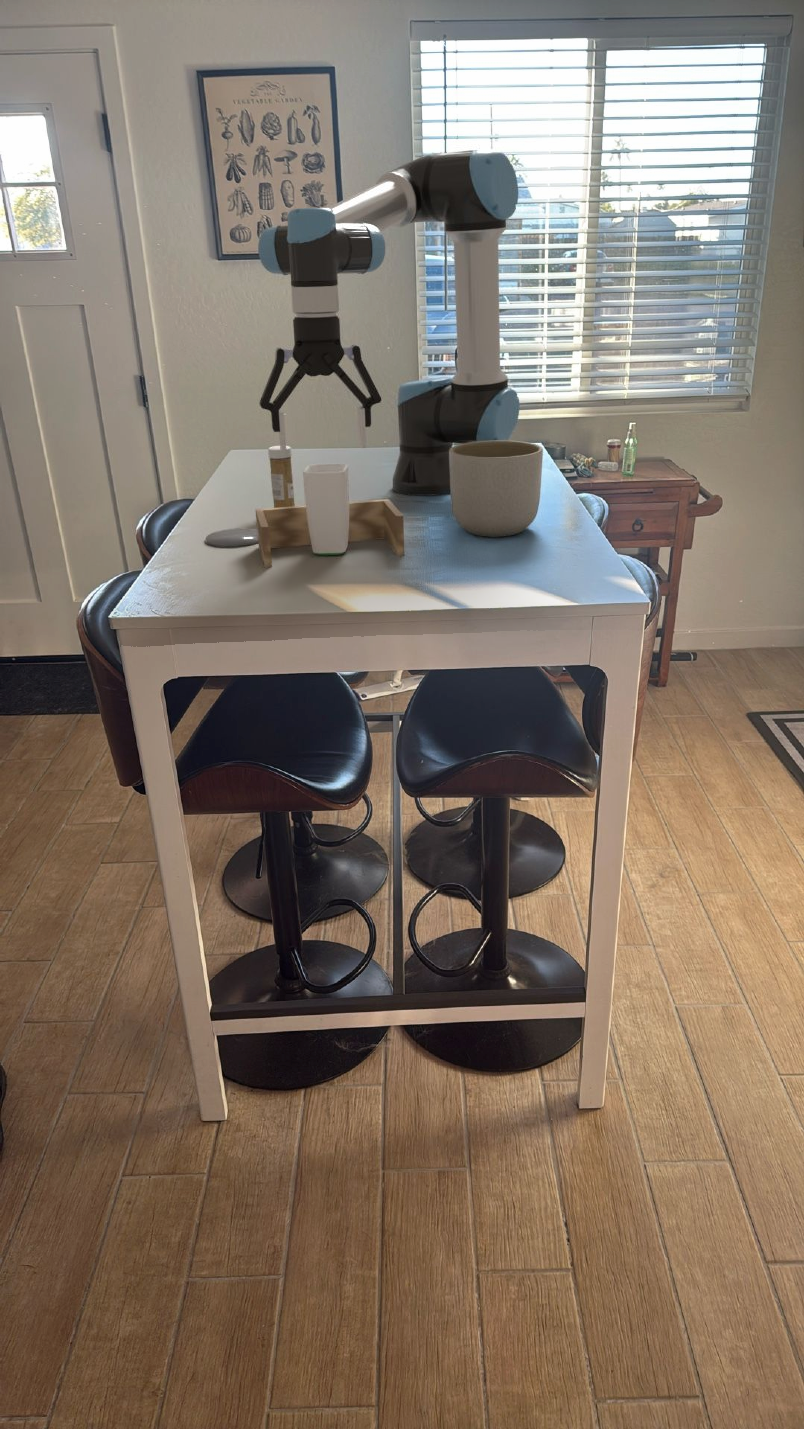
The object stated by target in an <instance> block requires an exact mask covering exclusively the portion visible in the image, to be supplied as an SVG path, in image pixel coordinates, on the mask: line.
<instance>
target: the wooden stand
mask: <svg viewBox="0 0 804 1429" xmlns="http://www.w3.org/2000/svg"><path fill="white" fill-rule="evenodd" d="M255 520H256V530H257V532H258V543H257V544H258V549H259V552H260V556H261V559H262V562H263V566H264V568H272V567H273V564H272V562H273V561H272V553H271V552H272V551H271V550H272V549H278V548H288V547H302V546H312V544H311V539H310V533H309V527H308V521H307V513H306V505H295V506H293V507H280V508H274V507H269V508H258V509H256V508H255ZM383 539H384V540H385V541H386V542H387V544H388V545H389V546H390V547H391V549H392V550H393V551H394V552H395V554H396V556H398V557H400V556H405V526H404V515H403V514H402V512H400V510H399V509H398V508H397V507H396V506H395V504H394V503H393V502H392V501H391V500H390V499H389V498H386V499H373V500H361V501H360V500H359V501H349V534H348V543H350V542H361V541H372V540H383Z"/></svg>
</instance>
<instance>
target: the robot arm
mask: <svg viewBox="0 0 804 1429" xmlns="http://www.w3.org/2000/svg"><path fill="white" fill-rule="evenodd" d="M518 200H519V184H518V178H517V175H516V171H515V168H514V166H513V164H512V162H511V160H510V159H509V157H508V155H506V154H505V153H503V152H502V151H500V150H498V149H487V148H486V149H485V148H478V149H473V150H470V149H469V150H461V151H453V152H443V153H442V152H440V153H439V152H437V153H431V154H426V155H424V156H421V157H418V158H416V159H414V160H413V159H412V160H410V161H409V162H407V163H405V164H403V165H401V166H399V167H397V168H393V170H391V171H389V172H386V173H383V175H381V176H379V178H378V179H377V181H376V183H375V185H373V186H371V187H368V188H367V189H363V190H362V191H360V192H358V193H356V194H353V195H351V196H349V197H347V198H345V199H342V200H341V201H338V202H336V203H335V204H332V205H330V206H328V207H301V208H293V209H291V210H290V211H288V214H287V225H284V226H283V225H279V224H278V225H276V226H272V227H268V228H265V229H264V230H263V231H262V232H261V234H260V236H259V239H258V243H257V246H258V247H257V252H258V254H259V255H258V257H259V260H260V263H261V265H262V267H263V268H264V269H265V270H266V271H268V272H269V273H271V274H276V275H279V274H280V275H283V276H288V275H290V286H291V289H290V290H291V305H292V308H291V309H292V313H293V314H296V316H295V317H294V318H293V319H292V323H293V325H292V326H293V338H294V340H293V341H294V345H293V348H292V349H285V348H284V349H283V348H281V347H278V348H276V349H275V355H274V356H275V358H274V359H275V360H274V364H273V366H272V370H271V371H270V375H269V377H268V379H267V382H266V384H265V387H264V389H263V392H262V394H261V397H260V400H259V406H260V407H261V409H263V410H267V411H269V412H270V417H271V428H272V430H273V432H274V433H278V436H279V437H278V438H279V446H280V450H281V452H282V453H286V446H287V441H286V428H285V414H284V411H283V410H281V408H282V407H283V405H284V403H285V402H286V401H287V400H288V398H289V397H290V395H291V394H292V393H293V392H294V390H295V389H296V387H297V386H298V384H299V383H300V382H301V381H302V380H303V378H304V377H305V375H307V376H309V377H317V376H324V377H327V376H328V377H329V376H330V375H332V374H333V373H334V374H335V376H337V377H338V378H339V380H340V381H342V383H343V384H344V386H345V387H346V388H348V390H349V391H350V392H351V393H352V395H353V396H354V397H355V398H356V399H357V400H358V401H359V402H360V404H361V405H360V406H357V424H358V425H357V426H358V431H357V432H358V446H359V447H360V449H367V440H366V439H367V436H366V428H370V427H371V425H372V407H373V406H375V405H376V404H381V402H382V396H381V395H380V393H379V392H378V389H377V387H376V385H375V383H374V381H373V379H372V377H371V376H370V374H369V371H368V369H367V367H366V366H365V363H364V361H363V359H362V353H361V352H362V351H361V348H360V346H358V345H356V344H353V345H351V346H347V347H343V346H342V343H341V327H340V326H341V325H340V324H341V322H340V320H341V319H340V317H339V316H338V315H337V313H339V311H340V301H339V300H340V299H339V286H338V285H339V284H338V278H339V276H338V274H340V275H341V274H344V275H345V274H346V275H347V274H361V275H362V274H363V275H365V274H367V273H371V272H374V271H376V270H378V269H379V268H380V267H381V265H382V263H383V262H384V260H385V256H386V242H385V237H384V235H383V234H382V232H383V231H386V230H387V229H390V228H391V227H394V228H404V227H406V226H408V225H409V224H414V223H425V222H430V223H431V222H441V223H443V222H444V225H445V226H444V228H445V229H444V230H445V234H446V236H448V237H449V238H450V239H451V240H452V243H453V259H454V260H453V264H454V289H455V290H454V291H455V296H454V297H455V317H456V318H455V321H456V322H455V325H456V346H457V348H456V349H457V350H456V351H457V371H456V373H455V375H453V376H452V378H451V377H450V376H449V377H447V376H446V377H445V376H444V377H443V376H442V377H435V378H427V379H421V380H415V381H409V382H404V383H403V384H402V385H400V387H399V389H398V394H397V405H396V407H397V411H398V412H397V414H398V416H397V417H398V443H399V444H398V445H399V454H398V455H399V456H398V458H397V463H396V466H395V468H394V473H393V477H392V490H393V491H394V492H396V493H399V494H404V495H411V496H437V495H443V494H445V495H446V494H450V470H449V449H450V448H451V447H453V444H463V443H469V442H477V441H494V440H504V441H509V439H510V437H511V436H512V435H513V433H514V430H515V429H516V427H517V423H518V420H519V416H520V405H521V404H520V399H519V396H518V393H517V391H516V390H514V389H512V388H511V387H508V386H509V384H508V382H509V381H508V379H509V378H508V375H507V374H506V373H505V372H504V371H503V370H502V369H501V348H500V347H501V343H500V342H501V340H500V336H501V334H500V332H501V331H500V275H499V274H500V271H499V270H500V269H499V268H500V266H499V264H500V263H499V239H500V236H501V235H502V234H503V233H504V232H505V231H506V229H507V220H508V219H509V218H511V217H512V216H513V215H514V213H515V212H516V209H517V207H516V205H517V204H518ZM345 355H346V356H347V359H348V360H349V361H352V363H353V365H354V367H355V369H356V371H357V372H358V374H359V376H360V378H361V380H362V382H363V385H364V386H365V389H366V390H367V392H368V394H369V396H368V397H367V396H366V395H365V394H364V392H362V390H361V389H360V388H359V387H358V386H357V385H356V384H355V382H354V381H353V379H352V378H350V377H349V375H348V374H347V372H346V371H344V369H343V368H342V367H341V366H340V363H341V361H342V359H343V358H344V356H345ZM290 358H293V360H294V361H295V362H296V364H298V365H297V366H296V368H295V370H294V371H293V372H292V375H291V376H290V377H289V379H288V380H287V381H286V383H285V384H284V385H283V387H282V389H281V390H280V391H279V393H278V394H277V396H276V397H275V398H274V400H273V401H271V399H272V397H273V394H274V391H275V389H276V387H277V385H278V381H279V379H280V376H281V374H282V371H283V369H284V365H285V364H287V363H289V361H290Z"/></svg>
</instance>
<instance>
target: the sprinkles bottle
mask: <svg viewBox="0 0 804 1429" xmlns="http://www.w3.org/2000/svg"><path fill="white" fill-rule="evenodd" d="M267 452H268V453H267V454H268V459H269V465H270V479H271V480H270V481H271V490H272V491H271V492H272V499H273V508H280V507H293V506H296V505H295V490H294V481H293V480H294V479H293V478H294V477H293V469H292V447H291V446H289V445H286V453H282V452H281V450H280V445H273V446H270V447H268V449H267Z"/></svg>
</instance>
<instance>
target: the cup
mask: <svg viewBox="0 0 804 1429" xmlns="http://www.w3.org/2000/svg"><path fill="white" fill-rule="evenodd" d="M302 477H303V491H304V492H303V493H304V500H305V502H304V503H305V506H306V513H307V521H308V527H309V533H310V539H311V544H312V545H311V548H312V553H313V554H315V555H317V556H341V555H343V554H344V553H345V552H346V551H347V548H348V546H349V544H348V543H349V542H348V534H349V502H350V485H349V484H350V483H349V482H350V481H349V466H348V464H345V463H315V464H314V463H313V464H308V465H307V466H306V467H305V468H304V470H303V471H302Z"/></svg>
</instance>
